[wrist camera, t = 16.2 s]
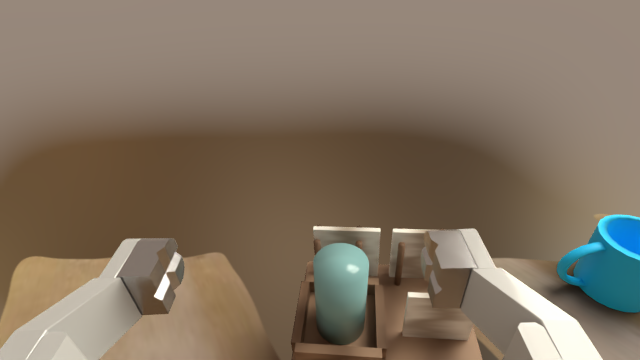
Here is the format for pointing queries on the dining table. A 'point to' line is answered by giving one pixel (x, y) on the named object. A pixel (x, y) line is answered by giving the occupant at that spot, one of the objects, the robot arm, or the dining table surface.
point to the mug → (608, 264)
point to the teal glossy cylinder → (340, 292)
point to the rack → (386, 307)
